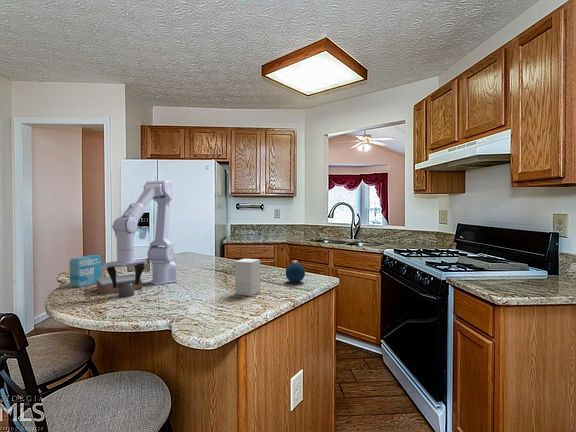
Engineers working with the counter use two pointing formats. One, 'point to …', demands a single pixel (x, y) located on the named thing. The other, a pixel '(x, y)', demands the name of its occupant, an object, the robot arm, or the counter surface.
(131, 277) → the lid
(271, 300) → the counter surface
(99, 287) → the box
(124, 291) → the dark grey rounded plug
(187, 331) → the counter surface
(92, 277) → the data package
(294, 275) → the christmas ornament
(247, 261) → the supplement box
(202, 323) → the counter surface
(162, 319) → the counter surface
